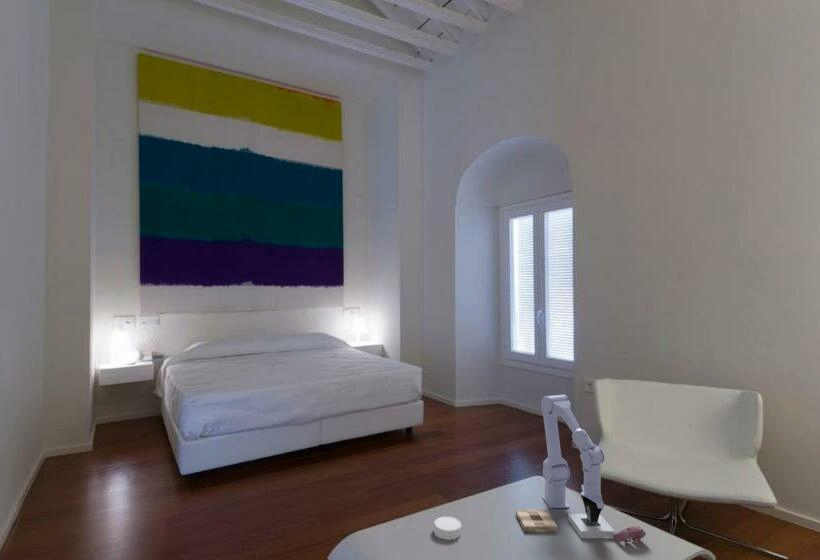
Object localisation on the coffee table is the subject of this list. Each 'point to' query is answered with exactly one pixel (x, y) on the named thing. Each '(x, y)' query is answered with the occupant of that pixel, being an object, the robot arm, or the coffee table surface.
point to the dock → (590, 527)
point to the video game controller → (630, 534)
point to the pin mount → (536, 526)
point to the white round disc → (447, 528)
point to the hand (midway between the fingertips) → (592, 518)
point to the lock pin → (589, 518)
